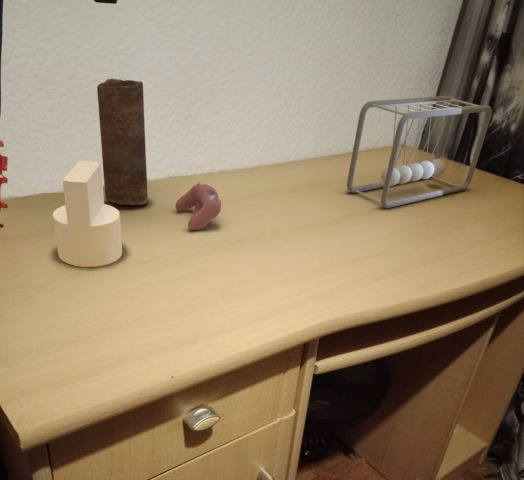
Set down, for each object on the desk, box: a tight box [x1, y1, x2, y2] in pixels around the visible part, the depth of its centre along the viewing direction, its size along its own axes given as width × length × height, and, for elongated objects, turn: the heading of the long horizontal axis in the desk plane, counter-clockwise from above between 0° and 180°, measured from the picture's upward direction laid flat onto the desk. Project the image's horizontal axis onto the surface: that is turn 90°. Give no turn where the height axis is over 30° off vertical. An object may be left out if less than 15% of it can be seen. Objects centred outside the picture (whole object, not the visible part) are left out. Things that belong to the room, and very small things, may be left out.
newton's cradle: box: [346, 95, 493, 209], centre depth 112 cm, size 30×10×18 cm, turn 129°
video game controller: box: [174, 182, 222, 231], centre depth 92 cm, size 10×5×7 cm, turn 22°
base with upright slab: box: [52, 160, 123, 268], centre depth 76 cm, size 9×9×12 cm
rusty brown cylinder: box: [96, 78, 149, 206], centre depth 91 cm, size 8×7×20 cm
